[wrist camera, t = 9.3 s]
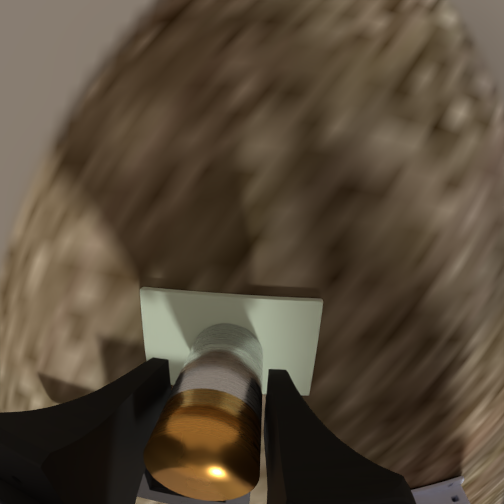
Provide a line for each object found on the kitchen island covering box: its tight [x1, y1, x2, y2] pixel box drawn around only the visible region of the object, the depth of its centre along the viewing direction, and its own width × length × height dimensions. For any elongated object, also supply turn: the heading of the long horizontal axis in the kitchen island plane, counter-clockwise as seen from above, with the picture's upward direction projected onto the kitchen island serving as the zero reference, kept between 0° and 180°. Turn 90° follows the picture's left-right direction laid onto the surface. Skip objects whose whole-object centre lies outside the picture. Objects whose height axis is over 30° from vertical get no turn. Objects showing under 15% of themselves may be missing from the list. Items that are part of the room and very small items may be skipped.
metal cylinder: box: [143, 323, 263, 501], centre depth 10 cm, size 3×3×7 cm
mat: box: [140, 287, 323, 395], centre depth 14 cm, size 8×5×1 cm, turn 87°
